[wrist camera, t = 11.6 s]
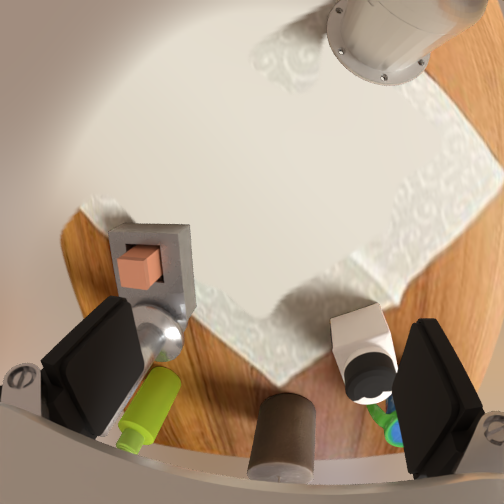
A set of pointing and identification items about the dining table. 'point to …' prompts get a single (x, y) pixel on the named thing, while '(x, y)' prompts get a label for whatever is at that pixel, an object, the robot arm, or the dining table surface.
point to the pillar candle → (284, 441)
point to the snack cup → (387, 421)
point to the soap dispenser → (148, 410)
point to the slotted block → (157, 293)
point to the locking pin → (140, 266)
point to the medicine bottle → (364, 354)
